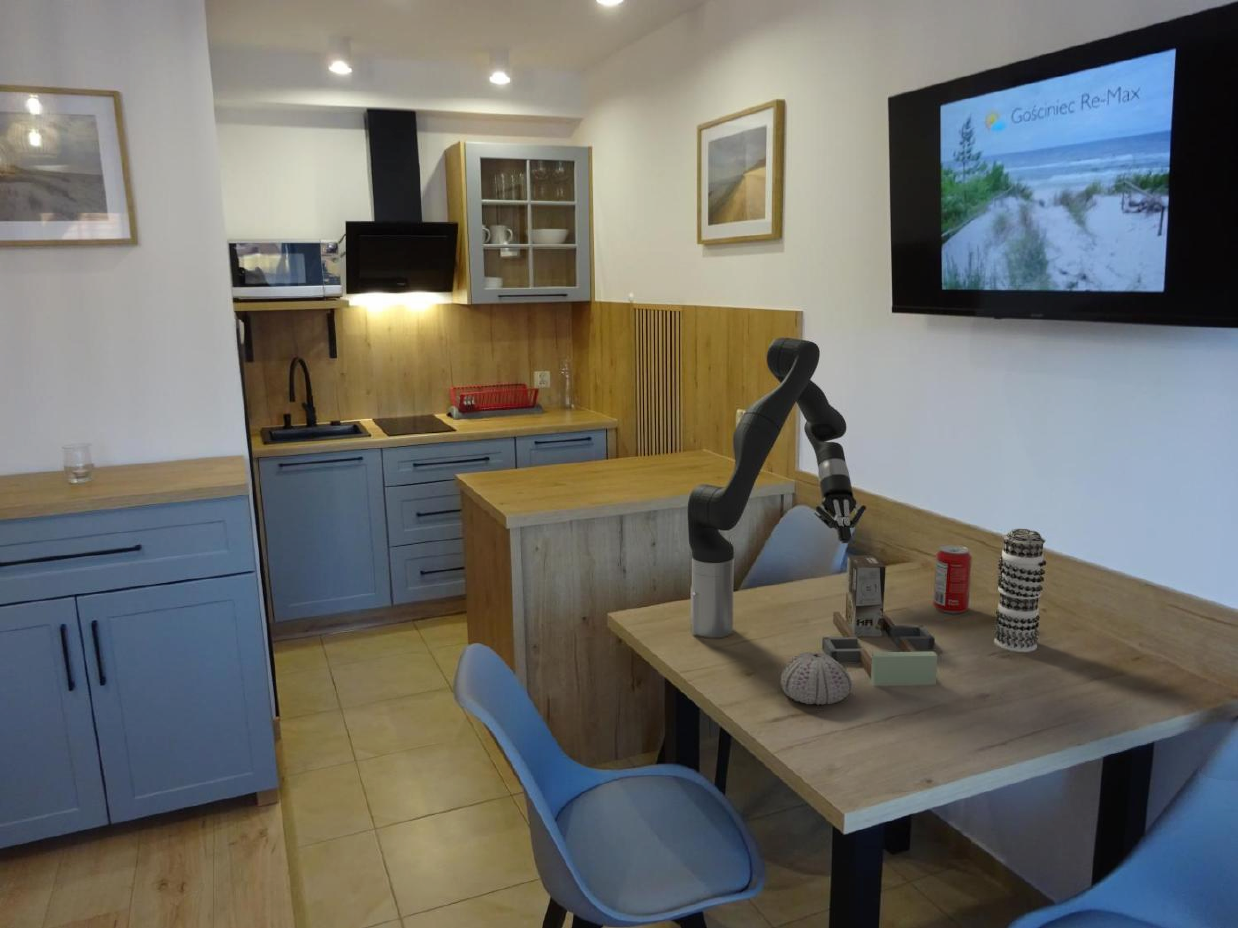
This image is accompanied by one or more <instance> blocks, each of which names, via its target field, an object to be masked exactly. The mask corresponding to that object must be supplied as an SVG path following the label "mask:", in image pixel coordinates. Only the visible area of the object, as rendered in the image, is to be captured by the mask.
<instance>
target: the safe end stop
mask: <svg viewBox="0 0 1238 928" xmlns="http://www.w3.org/2000/svg"><path fill="white" fill-rule="evenodd" d="M871 658H872V667H871V678H870V682H871V684H872V685H873V686H874V687H879V686H881V687H882V686H883V687H884V686H887V687H888V686H936V685H937V673H938V671H937V670H938V655H937V652H935V651H917V652H901V651H889V652H888V651H887V652H885V651H883V652H881V651H879V652H874V651H872V652H871Z"/></svg>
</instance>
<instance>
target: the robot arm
mask: <svg viewBox="0 0 1238 928" xmlns="http://www.w3.org/2000/svg"><path fill="white" fill-rule="evenodd" d="M820 353H821V351H820V347H819V346H818V344H817V343H815V342H813V341H810V340H805V339H798V338H791V337H777V338H775V339H773V340H772V341H771V342H770V345H769V347H768V349H767V352H766V364H767V368H768V369H769V372H770V373H771V374H772V375H773V377H775V378H776V380H777V381H778V382H779V383H780V384H779V385H778V386H776V388H774V389H773V390H771V391H770V392H768V393H767V394H765V395H763V396H762V397H760V398H759V399H757V400H756V401H755V402H753V403H752V404H750V406H748V408H747V409H746V410H745V411H744V413H743V415H742V416H741V419H740V420H739V422H738V424H737V426H736V428H735V430H734V432H733V436H732V446H733V453H734V468H733V469H734V470H733V472H732V474H731V476H730V479H729V480H728V482H727V484H726V485H725V486H717V485H712V484H707V483H703V484H699V485H696V486H695V487H694V488H693V489H692V491H691V492H690V495H689V498H688V503H687V530H688V544H689V547H690V549H691V586H690V629H691V633H692V634H691V635H692V636H699V637H703V638H711V639H712V638H713V639H714V638H724V637H728V636H729V635H731V634H733V631H734V629H733V626H734V577H735V576H734V572H735V571H734V570H735V568H734V567H735V566H734V565H735V563H734V562H735V561H734V560H735V559H734V558H735V551H734V550H735V549H734V545H733V544H732V542H730V541H729V540H728V539H726V538H725V537H724V536H723V535H722V534H721V533H720V531H723V532H725V531H726V532H727V531H730V530H732V529H733V528H735V526H736V525H737V524H738V523H739V521H740V519H741V517H742V515H743V514H744V511H745V509H746V506H747V503H748V502H749V500H750V496H751V494H752V491H753V488H754V486H755V483H756V480H757V479H758V476H759V475H760V472H761V470H762V467H764V464H765V462H766V460H767V458H768V456H769V454H770V452H771V451H772V448H773V447H774V445H775V443H776V441H777V440H778V437H779V435H780V433H781V432H782V429H783V427H784V424H786V421H787V419H788V417H789V415H790V413H791V411H792V410H793V407H794V406H795V404H797V405H798V408H799V410H800V412H801V414H802V415H803V417H804V419H805V422H804V427H803V428H804V433H805V436H806V438H807V440H808V441H809V444H811V447H812V449H813V451H814V453H815V458H816V464H817V469H818V473H817V475H818V482H819V483H818V484H819V487H820V492H821V493H820V494H821V498H822V500H821V501H822V502H821V504H820V505H818V506H816V507H815V510H814V513H813V514H814V515H815V516H816V517H817V518H818V519H819V520H821V522H823V523H824V525H826V526H827V528H829V529H835V530H836V531H837V538H838V540H839V542H841V544H849V542H850V541H851V539H852V532H851V529H854V528H855V527H856V525H857V524H858V523H859V521H860V520H861V518H862V516H864V514H865V512H866V510H867V506H866V505H861V504H859V503H857V499H855V497H854V493H853V487H852V482H851V481H852V480H851V477H850V471H849V469H848V466H847V462H846V457H845V450H844V448H843V445H841V444H840V443H839V442H835V441H833V440H838V439H840V438H842V437H844V435H845V433H846V432H847V422H846V420H845V418H844V416H843V415H842V413H840V412H839V411H838V410H837V408H836V409H835V407H834V406H832V405H831V404H830V403H829V400H828V398H827V396H826V395H825V394H826V393H825V392H824V391H823V390H822V388H821V387H820V386H818V385H817V384H816V383H815V382H814V381H812V377H813V376H814V374H815V372H816V370H817V368H818V365H819V362H820V361H819V360H820V355H821V354H820ZM854 509H855V510H854ZM853 511H854V513H855V515H854V517H853V518H852V519H851V520H850V515H851V514H852V513H853Z"/></svg>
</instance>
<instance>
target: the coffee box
mask: <svg viewBox="0 0 1238 928" xmlns="http://www.w3.org/2000/svg"><path fill="white" fill-rule="evenodd" d="M846 563H847V566H846V593H845V595H846V596H845V599H846V600H845V618H844V620H845V621H846V623H847V624H848V626H849V627H850V628H851V630H852V631H853V633H854V634H855V636H856V637H857V638H858V637H861V638H862V637H872V638H873V637H880V638H881V637H882V636H883V628H882V626H883V612H884V604H885V587H886V568H887V567H886V565H885V564H884V563H883V562H882V561H880V559H879V558H878V557H877V556H876V555H873V554H868V555H867V554H865V555H864V554H863V555H861V554H860V555H847V561H846Z"/></svg>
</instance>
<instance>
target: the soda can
mask: <svg viewBox="0 0 1238 928" xmlns="http://www.w3.org/2000/svg"><path fill="white" fill-rule="evenodd" d="M935 556H936V557H935V569H934V584H933V601H932V602H933V606H934V607H935V608H936V609H938V610H939V611H940V612H943V613H947V614H952V615H953V614H955V615H956V614H961V613H963V612H966V611H967V610H968V609H969V606H970V605H969V604H970V603H969V602H970V590H971V578H972V577H971V576H972V562H973V559H972V555H971V554H970V549H969V548H967V547H965V546H961V545H955V544H952V545H951V544H949V545H948V544H947V545H946V544H945V545H942V546H940V547H939V550H938V552H936V555H935Z"/></svg>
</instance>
